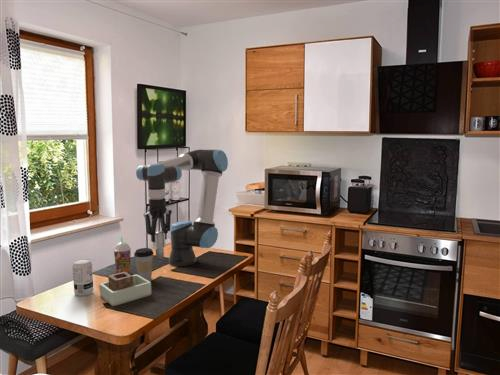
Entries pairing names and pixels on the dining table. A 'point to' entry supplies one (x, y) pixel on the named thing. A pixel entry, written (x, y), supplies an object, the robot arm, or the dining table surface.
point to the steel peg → (159, 245)
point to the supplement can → (82, 277)
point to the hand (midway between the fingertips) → (159, 247)
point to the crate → (126, 291)
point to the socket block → (120, 281)
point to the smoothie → (122, 257)
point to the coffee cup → (144, 262)
